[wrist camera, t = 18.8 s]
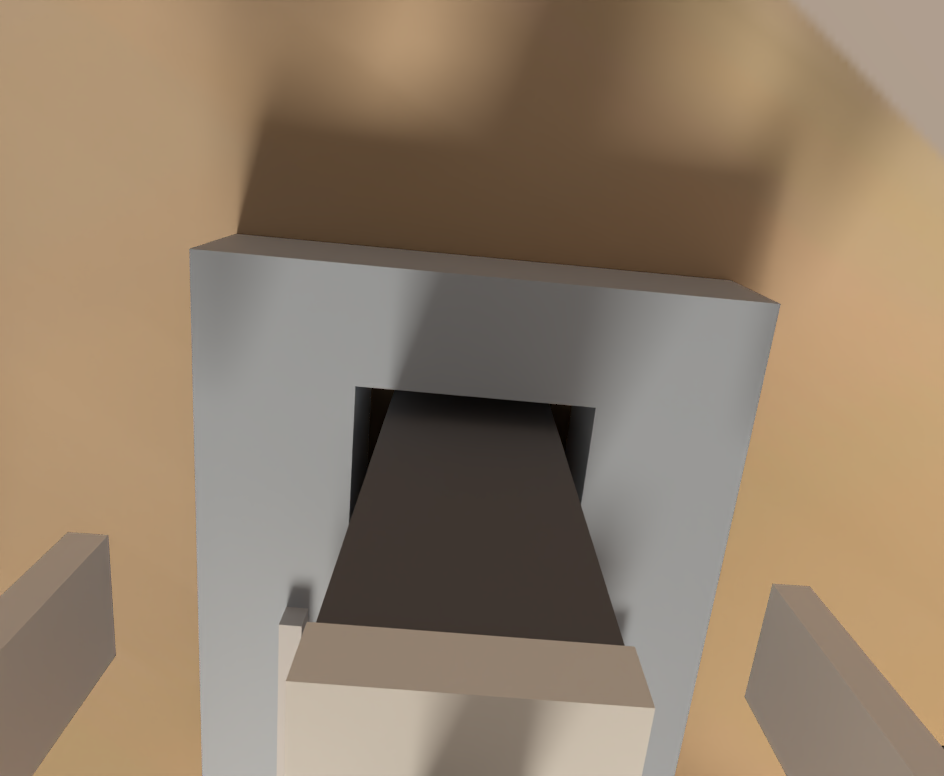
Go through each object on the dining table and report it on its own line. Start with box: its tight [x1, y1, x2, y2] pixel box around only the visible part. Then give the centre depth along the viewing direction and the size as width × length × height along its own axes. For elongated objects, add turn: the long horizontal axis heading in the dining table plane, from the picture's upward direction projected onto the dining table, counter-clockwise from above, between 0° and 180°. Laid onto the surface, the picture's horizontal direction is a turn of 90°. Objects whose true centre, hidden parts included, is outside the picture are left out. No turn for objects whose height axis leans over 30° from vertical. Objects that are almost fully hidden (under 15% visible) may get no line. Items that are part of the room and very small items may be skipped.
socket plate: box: [189, 234, 780, 776], centre depth 21 cm, size 14×18×4 cm
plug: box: [284, 390, 655, 776], centre depth 15 cm, size 5×5×16 cm
